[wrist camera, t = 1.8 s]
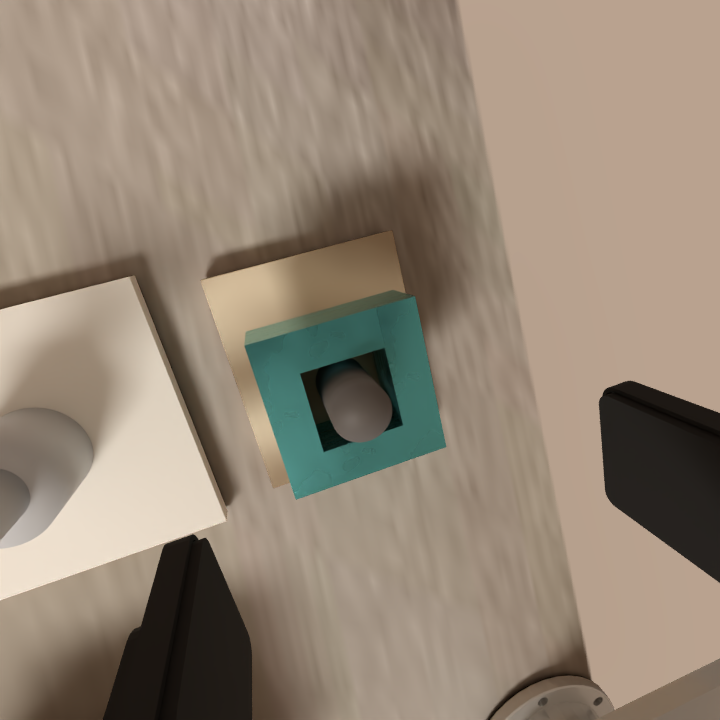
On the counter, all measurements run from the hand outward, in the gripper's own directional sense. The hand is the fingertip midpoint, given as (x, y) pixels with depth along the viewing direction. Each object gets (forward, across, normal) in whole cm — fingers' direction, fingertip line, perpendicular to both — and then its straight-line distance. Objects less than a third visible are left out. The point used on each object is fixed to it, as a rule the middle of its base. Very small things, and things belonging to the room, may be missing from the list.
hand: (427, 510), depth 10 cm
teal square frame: (+12, 0, +1) cm, 12 cm away
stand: (+16, 0, +1) cm, 16 cm away
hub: (+16, +15, +1) cm, 22 cm away
